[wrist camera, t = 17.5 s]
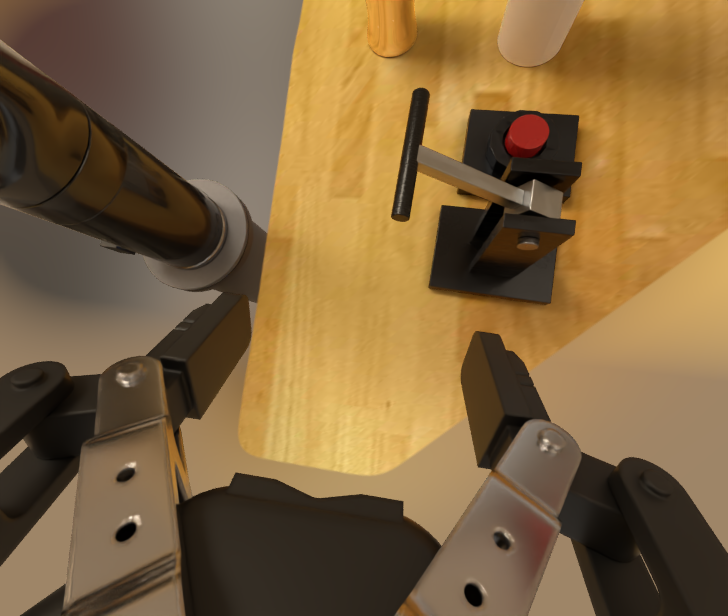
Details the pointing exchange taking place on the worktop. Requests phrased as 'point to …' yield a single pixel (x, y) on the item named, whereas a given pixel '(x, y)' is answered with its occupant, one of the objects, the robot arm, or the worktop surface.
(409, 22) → the beer glass
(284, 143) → the worktop surface
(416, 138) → the lever
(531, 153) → the button
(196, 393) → the robot arm
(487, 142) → the block
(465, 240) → the lever bracket
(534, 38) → the cylindrical container
